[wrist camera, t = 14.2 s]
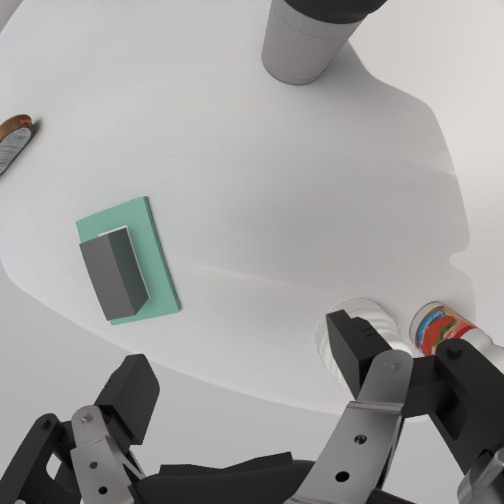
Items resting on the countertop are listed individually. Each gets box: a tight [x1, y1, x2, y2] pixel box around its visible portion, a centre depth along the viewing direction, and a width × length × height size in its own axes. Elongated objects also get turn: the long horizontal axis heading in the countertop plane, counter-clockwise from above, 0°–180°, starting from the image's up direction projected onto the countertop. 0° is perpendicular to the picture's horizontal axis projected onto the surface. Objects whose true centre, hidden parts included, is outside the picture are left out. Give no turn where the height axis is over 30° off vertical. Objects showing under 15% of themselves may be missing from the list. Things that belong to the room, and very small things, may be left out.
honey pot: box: [315, 299, 413, 394], centre depth 34 cm, size 13×13×18 cm
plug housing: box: [79, 227, 149, 321], centre depth 34 cm, size 11×5×6 cm, turn 14°
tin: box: [0, 114, 34, 174], centre depth 29 cm, size 15×3×8 cm, turn 120°
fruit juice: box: [410, 302, 504, 374], centre depth 30 cm, size 9×9×28 cm
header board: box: [76, 196, 181, 325], centre depth 36 cm, size 17×12×5 cm
